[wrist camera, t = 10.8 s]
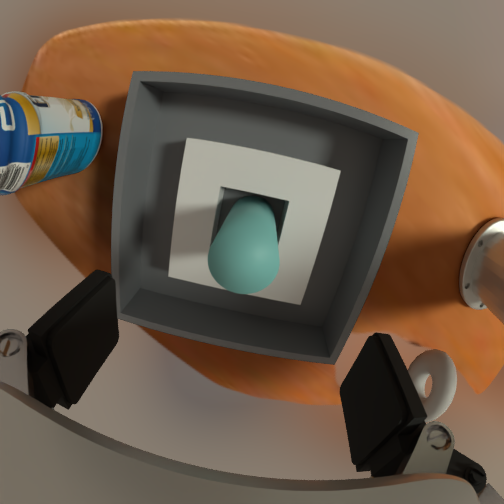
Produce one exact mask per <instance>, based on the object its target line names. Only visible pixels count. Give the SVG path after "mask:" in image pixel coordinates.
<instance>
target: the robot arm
mask: <svg viewBox="0 0 504 504" xmlns="http://www.w3.org/2000/svg"><path fill="white" fill-rule="evenodd" d="M459 288H460V293H461V296H462V298H463V300H464V301H465V302H466V303H467V305H469V306H470V307H471V308H473V309H477V310H481V309H485V308H488V309H489V310H490V311H491V312H492V313H493V314H494V315H495V316H496V317H497V318H498V319H499V320H500V321H501V322H502V323H503V324H504V218H496V219H493V220H491V221H489V222H487V223H486V224H485V225H484V226H483V227H482V228H481V229H480V230H479V231H478V232H477V233H476V235H475V236H474V238H473V239H472V241H471V243H470V244H469V246H468V249H467V251H466V253H465V256H464V258H463V261H462V265H461V269H460V276H459ZM28 332H29V334H28V335H27V336H26V337H25V335H24V334H23V333H22V332H20V331H18V330H14V329H8V330H3V331H1V332H0V504H504V499H503V498H502V497H501V496H500V495H499V494H498V493H497V492H496V490H495V489H494V488H493V487H492V486H491V485H490V484H489V483H488V484H486V480H487V479H486V473H485V471H484V469H483V468H482V466H480V465H479V464H478V463H476V462H474V461H473V460H471V459H469V458H468V457H466V456H465V455H463V454H461V453H459V452H458V451H457V450H455V449H453V448H454V442H455V440H454V436H453V434H452V432H451V430H450V429H449V428H448V427H447V426H446V425H445V424H443V423H441V422H436V421H432V422H429V423H427V424H426V423H425V419H426V418H427V417H428V416H427V414H426V411H425V409H424V406H423V404H422V402H421V399H420V397H419V395H418V392H417V390H416V388H415V386H414V383H413V381H412V379H411V377H410V375H409V373H408V370H407V368H406V366H405V364H404V362H403V360H402V358H401V356H400V354H399V352H398V350H397V348H396V346H395V344H394V342H393V340H392V338H391V336H390V335H389V334H382V333H374V334H373V335H372V336H369V337H368V339H367V341H366V342H365V344H364V346H363V348H362V350H361V352H360V353H359V355H358V357H357V359H356V361H355V362H354V364H353V366H352V367H351V369H350V371H349V373H348V374H347V376H346V378H345V379H344V381H343V383H342V384H341V387H340V397H341V402H342V407H343V412H344V418H345V423H346V429H347V435H348V441H349V447H350V453H351V459H352V463H353V464H354V465H356V470H357V472H362V471H370V470H371V477H370V478H364V479H348V480H289V479H275V478H265V477H256V476H247V475H240V474H234V473H228V472H223V471H217V470H213V469H207V468H203V467H199V466H194V465H190V464H186V463H182V462H179V461H175V460H172V459H168V458H165V457H162V456H158V455H155V454H152V453H149V452H146V451H143V450H140V449H137V448H134V447H132V446H129V445H127V444H124V443H122V442H119V441H116V440H114V439H112V438H110V437H107V436H105V435H103V434H100V433H98V432H96V431H94V430H92V429H90V428H87V427H85V426H83V425H81V424H79V423H77V422H75V421H73V420H71V419H69V418H68V417H66V416H64V415H62V414H60V413H58V412H56V411H55V410H54V407H55V405H56V404H59V405H61V406H63V407H65V408H66V409H69V408H70V407H71V405H72V404H76V403H77V402H78V401H79V399H80V398H81V396H82V395H83V393H84V392H85V390H86V389H87V387H88V385H89V384H90V382H91V381H92V379H93V378H94V376H95V375H96V373H97V372H98V370H99V369H100V367H101V366H102V365H103V363H104V362H105V360H106V359H107V357H108V356H109V354H110V353H111V351H112V350H113V349H114V347H115V346H116V344H117V342H118V339H119V330H118V319H117V304H116V283H115V279H113V278H112V275H111V274H110V273H107V272H104V271H100V270H95V271H94V272H93V273H91V274H90V275H89V276H88V277H87V278H85V279H84V280H83V281H82V282H81V283H79V284H78V285H77V286H76V287H75V288H73V289H72V290H71V291H70V292H69V293H68V294H66V295H65V296H64V297H63V298H62V299H61V300H60V301H59V302H57V303H56V304H55V305H54V306H53V307H52V308H51V309H49V310H48V311H47V312H46V313H45V314H44V315H43V316H42V317H41V318H40V319H39V320H37V321H36V323H34V324H33V325H32V326H31V327H30V328H29V329H28Z"/></svg>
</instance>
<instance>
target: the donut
mask: <svg viewBox="0 0 504 504" xmlns="http://www.w3.org/2000/svg"><path fill="white" fill-rule="evenodd" d="M408 373H409V375H410V377H411V379H412V381H413V383H414V386H415V388H416V390H417V392H418V395H419V397H420V399H421V402H422V404H423V406H424V409H425V411H426V414H427V416H428V417H427V418H426V419H425V422H428V421H432V420H435V419H437V418H438V417H439V416H440V415H442V414H443V413H444V412H445V411H446V409H447V408H448V406H449V405H450V403H451V402H452V399H453V397H454V394H455V391H456V383H457V376H456V368H455V365H454V363H453V361H452V359H451V358H450V357H449V356H448V355H447V354H446V353H445V352H443V351H440V350H437V349H433V350H428V351H425V352H423V353H422V354H420V355H419V356H417V357H416V359H415V360H414V361H413V362H412V363H411V365H410V367H409V369H408ZM429 375H431V377H432V381H433V384H432V390H431V393H430V395H429V397H427V398H426V396H425V392H424V387H425V382H426V379H427V377H428V376H429Z"/></svg>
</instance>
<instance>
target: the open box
mask: <svg viewBox="0 0 504 504" xmlns="http://www.w3.org/2000/svg"><path fill="white" fill-rule="evenodd" d="M418 134H419V133H417V132H415V131H413V130H411V129H408V128H406V127H404V126H402V125H399V124H397V123H395V122H392V121H390V120H387V119H385V118H382V117H380V116H377V115H375V114H372V113H369V112H367V111H364V110H361V109H358V108H355V107H352V106H349V105H346V104H343V103H340V102H337V101H334V100H331V99H327V98H324V97H320V96H317V95H313V94H309V93H306V92H302V91H298V90H294V89H289V88H285V87H281V86H276V85H271V84H266V83H261V82H255V81H250V80H244V79H237V78H230V77H223V76H214V75H205V74H194V73H180V72H155V71H133V74H132V79H131V83H130V87H129V91H128V96H127V101H126V106H125V111H124V116H123V122H122V127H121V133H120V140H119V147H118V154H117V162H116V171H115V181H114V193H113V208H112V232H111V273H112V278H113V279H115V283H116V304H117V318H118V319H121V320H124V321H127V322H130V323H133V324H137V325H140V326H143V327H147V328H150V329H154V330H157V331H161V332H164V333H168V334H172V335H176V336H179V337H183V338H187V339H191V340H195V341H200V342H204V343H208V344H213V345H217V346H222V347H226V348H231V349H236V350H241V351H246V352H252V353H257V354H263V355H268V356H274V357H281V358H287V359H294V360H301V361H308V362H316V363H324V364H333V365H335V363H336V361H337V359H338V357H339V355H340V353H341V351H342V349H343V347H344V345H345V343H346V341H347V339H348V337H349V335H350V333H351V331H352V329H353V327H354V325H355V323H356V321H357V318H358V316H359V314H360V312H361V310H362V307H363V305H364V303H365V301H366V298H367V296H368V294H369V291H370V289H371V286H372V284H373V282H374V279H375V277H376V274H377V272H378V269H379V266H380V264H381V261H382V259H383V256H384V253H385V250H386V248H387V245H388V242H389V239H390V236H391V233H392V230H393V227H394V224H395V221H396V218H397V215H398V212H399V209H400V205H401V202H402V199H403V195H404V192H405V188H406V184H407V181H408V177H409V173H410V169H411V165H412V161H413V157H414V152H415V148H416V143H417V139H418ZM246 196H258V197H261V198H263V199H265V200H266V201H267V202H268V203H269V204H270V205H271V207H272V208H273V211H274V215H275V224H276V232H277V241H278V250H279V260H280V264H279V270H278V273H277V275H276V277H275V279H274V280H273V281H272V283H271V284H270V285H268V286H267V287H266V288H264V289H263V290H261V291H258V292H255V293H251V294H239V293H234V292H231V291H228V290H227V289H225V288H223V287H222V286H220V285H219V284H218V283H217V282H216V281H215V279H214V278H213V277H212V275H211V273H210V270H209V267H208V252H209V249H210V247H211V245H212V243H213V241H214V239H215V237H216V236H217V234H218V232H219V230H220V228H221V226H222V225H223V223H224V221H225V219H226V217H227V216H228V214H229V212H230V210H231V208H232V207H233V205H234V204H235V203H236V202H237V201H238V200H239V199H241V198H243V197H246Z"/></svg>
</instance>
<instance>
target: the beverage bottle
mask: <svg viewBox="0 0 504 504" xmlns="http://www.w3.org/2000/svg"><path fill="white" fill-rule="evenodd" d="M102 135H103V127H102V120H101V117H100V114H99V112H98V111H97V109H96V108H95V107H94V106H93V105H92V104H91V103H90V102H88V101H85V100H80V99H63V98H53V97H44V96H32V95H27V94H26V93H23V92H8V93H5V94H3V95H0V195H7V194H11V193H14V192H16V191H18V190H19V189H21V188H23V187H26V186H30V185H33V184H36V183H39V182H43V181H46V180H49V179H53V178H57V177H60V176H64V175H69V174H74V173H78V172H80V171H82V170H84V169H85V168H86V167H88V166H89V165H90V164H91V162H92V161H93V160H94V158H95V157H96V155H97V153H98V151H99V148H100V145H101V141H102Z"/></svg>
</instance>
